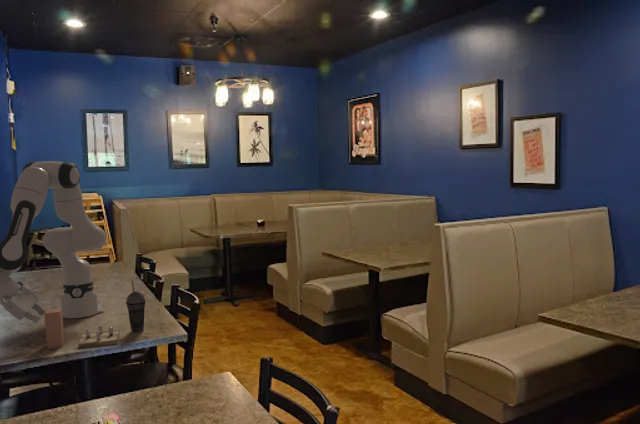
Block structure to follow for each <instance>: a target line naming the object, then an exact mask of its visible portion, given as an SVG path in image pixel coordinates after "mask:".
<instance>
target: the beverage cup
mask: <svg viewBox="0 0 640 424" xmlns="http://www.w3.org/2000/svg"><path fill="white" fill-rule="evenodd" d="M134 286H135V285H134V280H131V287H132V292H131V293H129V294H128V296H127V297H126V300H125V301H126V302H125V304H126V307H127V311H128V318H129V319H128V320H129V323H130V324H129V325H130V331H131V333H137V334H138V333H141V332H144V330H145V307H146V297H145V296H144V294H143V293H142V292H141V291H140V292H139V291H135V287H134Z"/></svg>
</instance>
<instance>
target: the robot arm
mask: <svg viewBox="0 0 640 424" xmlns="http://www.w3.org/2000/svg"><path fill="white" fill-rule="evenodd" d="M80 171H81V170H80V169H79V168H78V166H77V165H76V164H75V163H72V162H68V161H57V160H56V161H55V160H47V161H46V160H45V161H30V162H27V163H26V164H25V165H24V166H23V168H22V170H21V173H20V176H19V177H18V180H17V181H16V184H15V186H14V189H13V191H12V195H11V198H10V199H11V200H10V210H11V211H12V218H11V222H10V224H9V227H8V231H7V233H6V236H5V238H4V239H3V240H2V241H1V242H0V306H1V307H3V308H4V310H6V311H7V312H8V313H9V314H11V315H12V316H13V317H15V319H17V320H22V319H23V318H25V319H27V320H30V321H32V322H33V323H34V324H35V323H36V324H37V323H38V322H39V321H40V319H41V318H40V317H41V316H44V313H45V312H46V310H45V309H44V308H42V306H41V305H40V304H39V303H38V302H39V300H40V299H39V297H38V296H37V295H36V294H35V293H33V292H32V291H31V290H30V289H29V288H27V287H26V286H25V284H24V283H23V282H22V281H16V280H14V279H13V278H11V277H10V276H11V275H13V274H14V273H17V272H18V271H19V270H20V269H21V268H22V266H24V265H25V263H26V261H27V260H28V257H29V251H28V247H27V240H28V236H29V232H30V229H31V226H32V224H33V221H34V219H35V218H36V217H37V216H38V215H39V214H40V212H41V211H42V209H43V207H44V204H45V203H46V199H47V197H48V196H47V195H48V192H49V191H48V190H52V197H53V203H54V208H55V214H56V216H57V218H58V219H60V220H61V221H63V222H65V223H67V224H69V225H70V226H66V227H65V226H64V227H61V226H60V227H54V228H51V229H48V230H47V231H46V232H45V233H44V235H43V238H42V242H43V243H42V244H43V245H44V248H45V249H46V250H47V251H48V252H50V254H51V253H52V254H53V255H54V256H55V257H56V258H57V259H58V261H59V263H60V265H61V268H62V273H63V274H62V275H63V281H64V282H63V286H62V287H63V289H62V290H63V295H62V296H61V297H60V308H62V313H63V319H81V318H87V317H91V316H94V315H97V314H100V313H104V309H103V307H102V305H101V302H100V301H99V300H98V293H96V292H95V290H94V281H93V277H92V266H91V264H90V263H89V262H88V260H86V259H83V258H81V257H80V256H79V255H78V254H77V253H78V252H80V253H81V252H83V253H84V252H94V251H97V250H102V249H103V247H104V246H105V245H106V243H107V238H108V237H107V232H105V230H104V229H103V228H102V227H100V226H99V225H97V224H95V223H94V222H93V221H92V220H91V218H90V217H89V216H88V214H87V212H86V208H85V204H84V200H83V193H82V189H81V186H80V181H81V180H80V179H81V172H80ZM31 309H32V310H34V311H35V312H37V314H38V315H40V316H38V315H35V313H34V314H33V313H32V311H31Z"/></svg>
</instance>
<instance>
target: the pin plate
mask: <svg viewBox="0 0 640 424" xmlns="http://www.w3.org/2000/svg"><path fill="white" fill-rule="evenodd" d="M103 327H104V326H103V325H102V324H100V325H98V331H93V332H91V329H86V330H85V332H84V333H83V334H82V336H81V338H80V340H79V342H78V349H83V348H92V347H101V346H109V345H110V346H111V345H118V343H119V340H120V334H121V332H120V331H121V330H120V328H119V329H114V327H113V326H109V327H108V330H104V328H103Z"/></svg>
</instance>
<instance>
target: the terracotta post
mask: <svg viewBox="0 0 640 424" xmlns="http://www.w3.org/2000/svg"><path fill="white" fill-rule="evenodd" d="M43 316H44V325H45V326H44V327H45V338H46V342H45V343H46V349H47V350H49V349H56V348H57V349H58V348H63V347H64V345H65V343H66V342H65V330H64V317H63V313H62V308H61V307H59V308H53V309H51V308H50V309H46V310H45V313H44V314H43Z"/></svg>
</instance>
